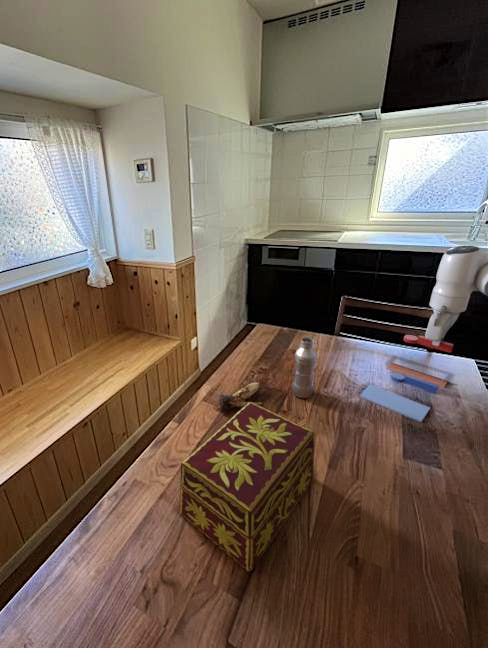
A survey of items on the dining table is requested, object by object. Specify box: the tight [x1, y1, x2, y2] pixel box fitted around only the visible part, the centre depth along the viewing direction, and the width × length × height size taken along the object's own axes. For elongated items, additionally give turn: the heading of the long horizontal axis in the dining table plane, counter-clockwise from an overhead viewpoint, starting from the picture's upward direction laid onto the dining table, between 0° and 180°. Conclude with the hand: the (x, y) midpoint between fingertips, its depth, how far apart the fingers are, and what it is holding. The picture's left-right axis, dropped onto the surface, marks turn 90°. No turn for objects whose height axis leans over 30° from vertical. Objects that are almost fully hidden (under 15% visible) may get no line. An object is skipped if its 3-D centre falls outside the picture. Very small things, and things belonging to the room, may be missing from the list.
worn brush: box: [217, 381, 263, 413], centre depth 106 cm, size 9×5×18 cm
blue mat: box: [359, 384, 431, 423], centre depth 102 cm, size 17×8×1 cm, turn 42°
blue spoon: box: [390, 372, 439, 395], centre depth 110 cm, size 13×4×2 cm, turn 42°
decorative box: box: [179, 401, 315, 573], centre depth 74 cm, size 28×19×15 cm
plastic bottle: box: [291, 336, 318, 399], centre depth 105 cm, size 6×7×20 cm
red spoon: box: [403, 334, 454, 353], centre depth 107 cm, size 13×4×2 cm, turn 42°
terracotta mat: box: [386, 362, 449, 389], centre depth 115 cm, size 17×8×1 cm, turn 42°
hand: (437, 342), depth 105 cm, fingers closed on red spoon, 1 cm apart
